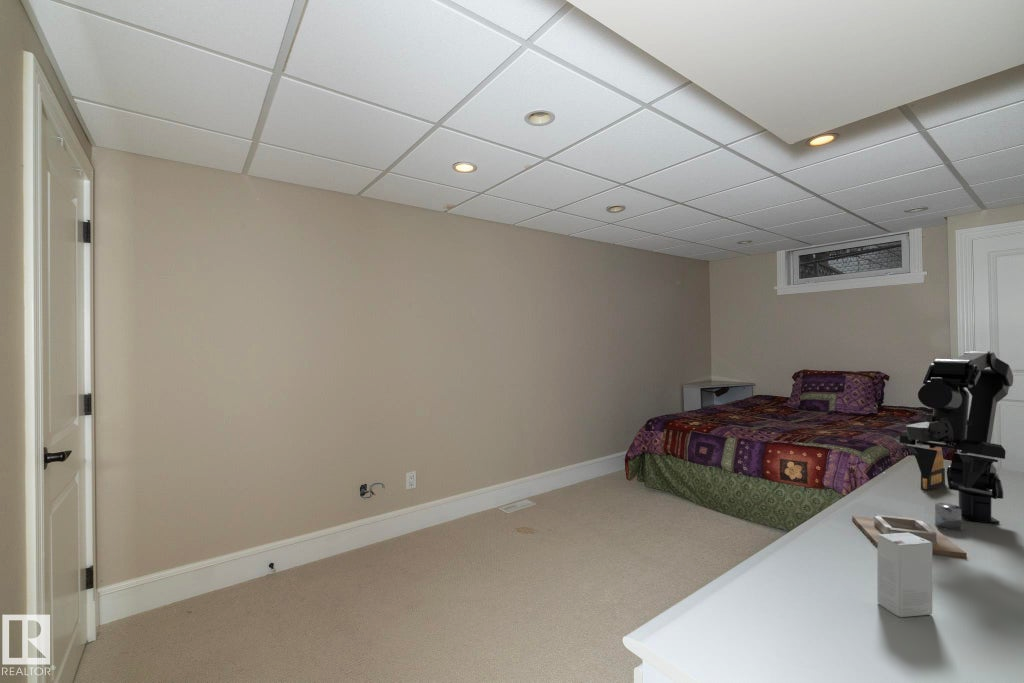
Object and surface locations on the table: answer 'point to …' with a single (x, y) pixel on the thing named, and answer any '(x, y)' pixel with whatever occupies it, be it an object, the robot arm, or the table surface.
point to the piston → (948, 516)
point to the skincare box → (904, 574)
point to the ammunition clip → (935, 473)
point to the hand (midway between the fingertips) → (945, 483)
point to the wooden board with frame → (907, 525)
